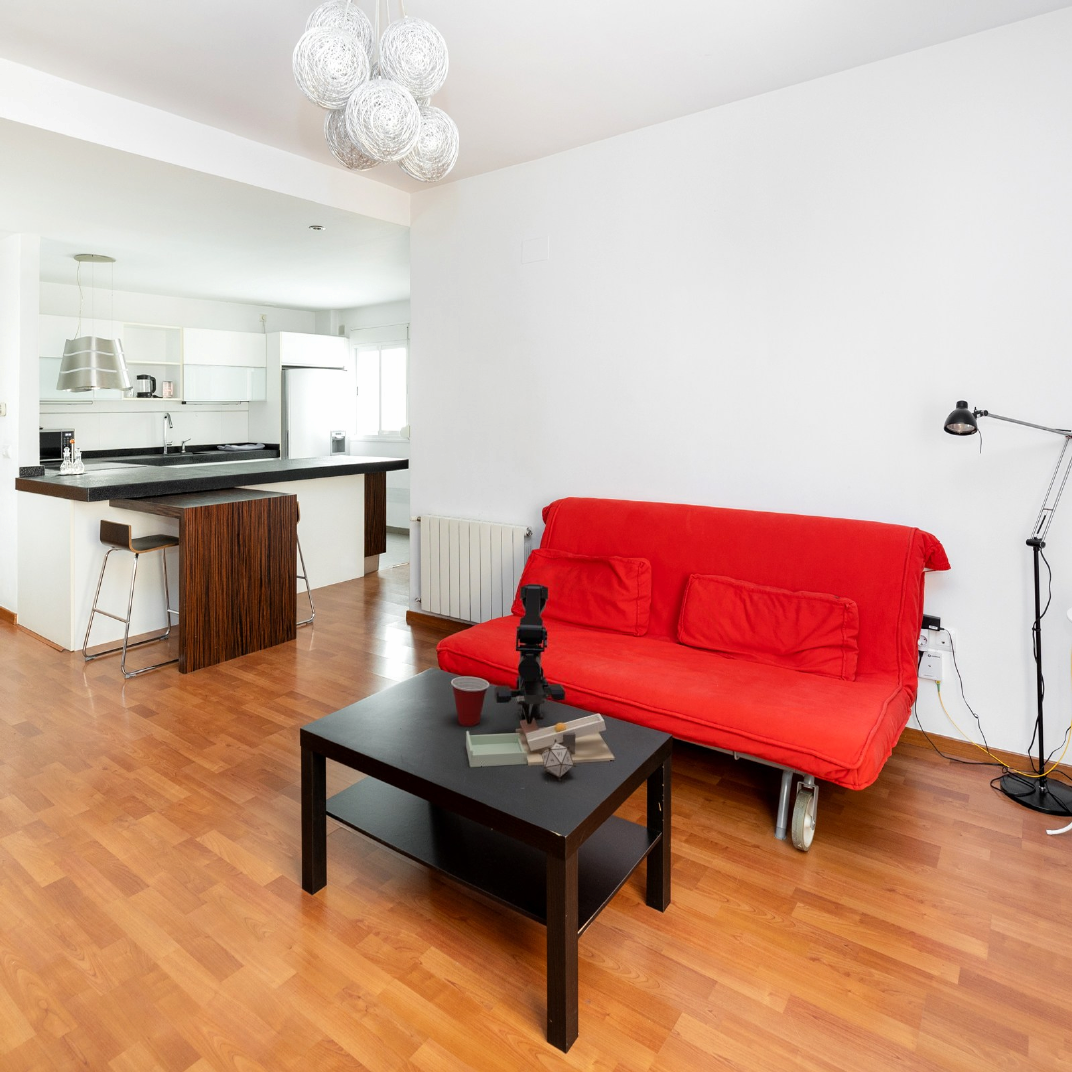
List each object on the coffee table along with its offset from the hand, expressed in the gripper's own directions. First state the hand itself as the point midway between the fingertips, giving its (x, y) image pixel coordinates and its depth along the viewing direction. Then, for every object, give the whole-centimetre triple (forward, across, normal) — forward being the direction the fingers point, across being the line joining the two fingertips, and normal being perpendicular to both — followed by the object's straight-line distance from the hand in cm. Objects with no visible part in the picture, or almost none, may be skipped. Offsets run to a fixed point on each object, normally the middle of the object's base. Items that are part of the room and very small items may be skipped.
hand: (528, 723), depth 198 cm
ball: (-3, +6, -12) cm, 13 cm away
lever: (-1, +8, -6) cm, 10 cm away
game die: (+3, +3, -24) cm, 25 cm away
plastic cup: (+3, -15, +10) cm, 19 cm away
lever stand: (+3, +8, -8) cm, 12 cm away
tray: (+3, -10, -12) cm, 16 cm away
